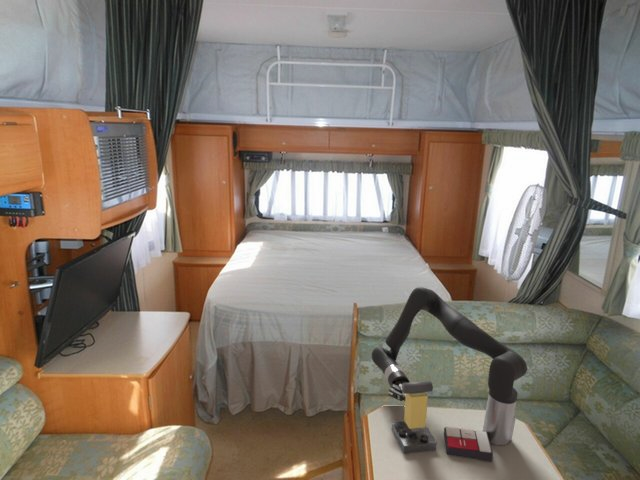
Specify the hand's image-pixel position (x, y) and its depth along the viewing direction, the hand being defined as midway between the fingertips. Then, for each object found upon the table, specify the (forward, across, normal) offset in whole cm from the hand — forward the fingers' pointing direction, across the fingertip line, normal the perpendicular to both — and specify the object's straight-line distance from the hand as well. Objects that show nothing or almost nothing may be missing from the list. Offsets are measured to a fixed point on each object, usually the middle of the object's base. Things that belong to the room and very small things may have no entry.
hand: (412, 405), depth 153 cm
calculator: (+9, +18, +13) cm, 24 cm away
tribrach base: (+3, 0, +12) cm, 12 cm away
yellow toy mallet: (+3, 0, +8) cm, 8 cm away
